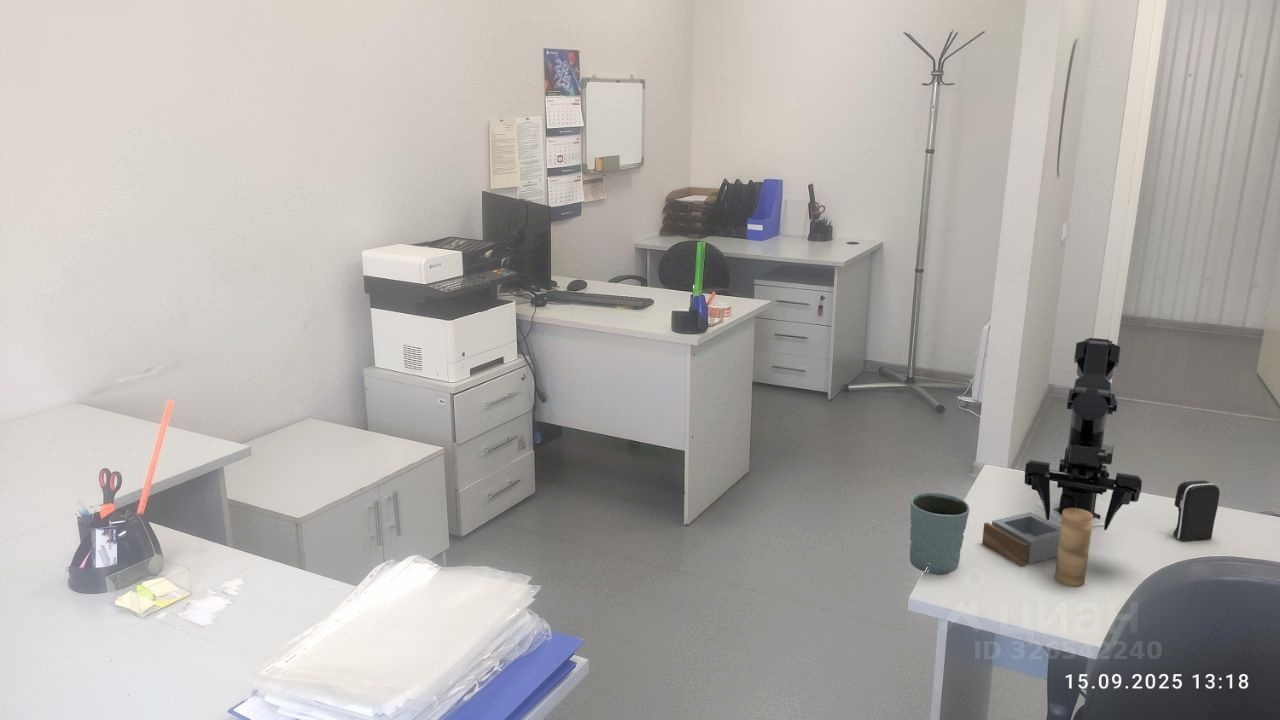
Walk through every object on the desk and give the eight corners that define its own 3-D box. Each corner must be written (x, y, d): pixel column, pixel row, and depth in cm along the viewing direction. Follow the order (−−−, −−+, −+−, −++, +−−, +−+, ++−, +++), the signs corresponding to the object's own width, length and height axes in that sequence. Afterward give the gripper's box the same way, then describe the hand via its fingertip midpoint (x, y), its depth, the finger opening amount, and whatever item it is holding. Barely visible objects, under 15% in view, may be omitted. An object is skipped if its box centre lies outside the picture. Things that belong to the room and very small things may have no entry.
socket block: (1027, 532, 175) (1030, 511, 174) (1067, 553, 167) (1070, 532, 165) (990, 542, 172) (992, 520, 170) (1028, 564, 163) (1031, 541, 162)
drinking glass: (895, 556, 167) (899, 497, 164) (937, 545, 171) (942, 488, 168) (932, 581, 158) (937, 519, 155) (976, 569, 162) (982, 508, 159)
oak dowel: (1068, 572, 160) (1076, 505, 157) (1090, 584, 156) (1099, 516, 153) (1048, 577, 159) (1056, 510, 155) (1070, 590, 154) (1079, 521, 151)
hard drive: (1034, 501, 188) (1070, 527, 176) (1070, 498, 189) (1108, 523, 177) (1033, 508, 189) (1069, 534, 177) (1069, 505, 190) (1107, 531, 178)
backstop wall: (985, 543, 171) (987, 522, 170) (1025, 566, 162) (1027, 544, 161) (982, 544, 171) (984, 523, 170) (1022, 567, 162) (1024, 545, 161)
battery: (1198, 530, 175) (1207, 477, 172) (1213, 539, 172) (1222, 484, 169) (1166, 533, 174) (1174, 479, 171) (1180, 542, 171) (1189, 487, 168)
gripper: (1031, 418, 161) (1019, 496, 155) (1148, 433, 153) (1141, 516, 147) (1030, 445, 170) (1019, 520, 164) (1140, 461, 162) (1134, 540, 155)
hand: (1076, 524), depth 157 cm, fingers open, 9 cm apart
